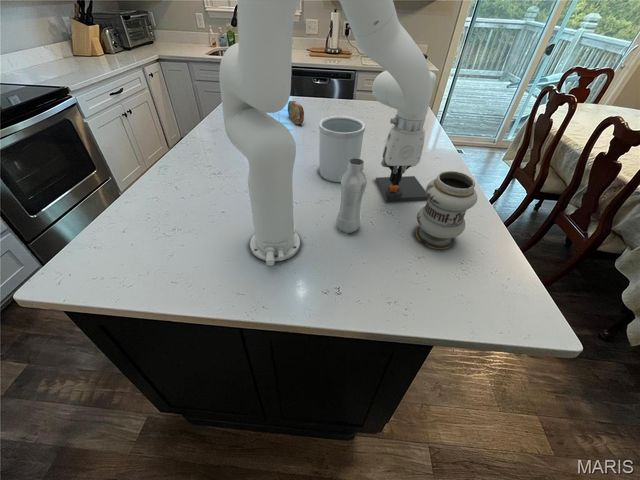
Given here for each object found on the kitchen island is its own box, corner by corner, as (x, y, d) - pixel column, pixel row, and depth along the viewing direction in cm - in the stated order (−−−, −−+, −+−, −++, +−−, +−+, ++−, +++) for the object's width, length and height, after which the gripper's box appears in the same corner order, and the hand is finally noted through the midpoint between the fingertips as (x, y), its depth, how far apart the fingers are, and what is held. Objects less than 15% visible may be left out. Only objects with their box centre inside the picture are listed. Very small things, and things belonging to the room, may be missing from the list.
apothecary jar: (403, 235, 80) (420, 177, 68) (425, 218, 87) (445, 161, 75) (443, 259, 74) (470, 199, 62) (464, 238, 81) (493, 180, 69)
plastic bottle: (333, 232, 80) (339, 165, 67) (339, 218, 85) (346, 153, 72) (356, 238, 79) (367, 170, 66) (361, 223, 84) (372, 157, 70)
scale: (428, 200, 94) (431, 192, 92) (386, 202, 92) (387, 194, 90) (413, 179, 104) (415, 171, 102) (374, 181, 102) (375, 173, 100)
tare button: (398, 192, 92) (399, 188, 91) (390, 192, 92) (391, 188, 91) (395, 188, 94) (396, 183, 93) (388, 188, 93) (389, 184, 92)
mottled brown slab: (287, 116, 146) (286, 98, 140) (293, 115, 147) (293, 97, 141) (298, 127, 136) (298, 108, 130) (305, 126, 137) (305, 107, 131)
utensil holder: (323, 185, 98) (326, 134, 86) (312, 165, 109) (313, 116, 97) (364, 181, 101) (372, 130, 90) (350, 161, 112) (355, 114, 100)
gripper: (386, 128, 75) (374, 190, 87) (441, 128, 77) (421, 189, 89) (378, 118, 80) (367, 177, 92) (429, 118, 83) (412, 176, 95)
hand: (394, 183), depth 91 cm, fingers closed
